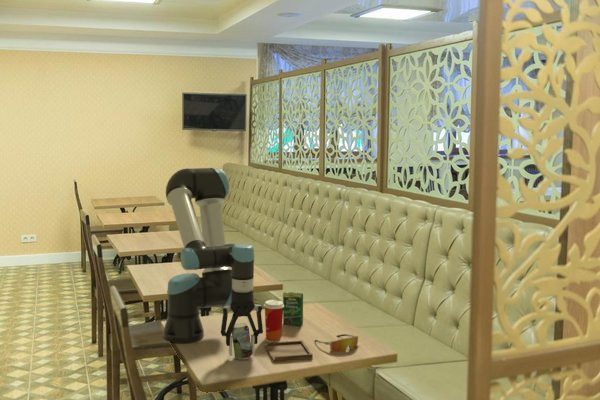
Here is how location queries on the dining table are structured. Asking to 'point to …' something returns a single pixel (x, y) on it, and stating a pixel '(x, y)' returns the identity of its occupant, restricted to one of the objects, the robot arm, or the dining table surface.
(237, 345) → the beverage can
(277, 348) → the far tray
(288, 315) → the coffee box
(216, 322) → the dining table surface
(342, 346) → the sunglasses
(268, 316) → the paper cup
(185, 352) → the dining table surface
